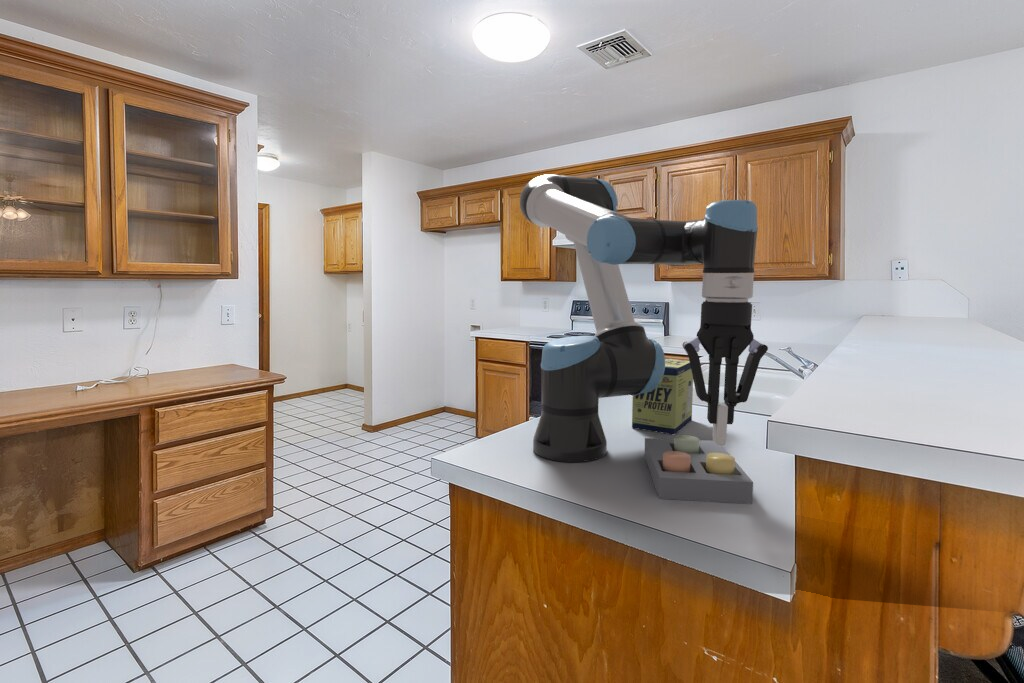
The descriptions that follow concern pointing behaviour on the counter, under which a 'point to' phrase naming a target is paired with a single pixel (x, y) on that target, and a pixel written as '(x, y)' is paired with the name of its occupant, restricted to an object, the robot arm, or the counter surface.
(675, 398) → the protein box
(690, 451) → the sage button
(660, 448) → the console
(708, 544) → the counter surface
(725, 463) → the mustard button
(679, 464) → the terracotta button
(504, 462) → the counter surface
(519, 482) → the counter surface
